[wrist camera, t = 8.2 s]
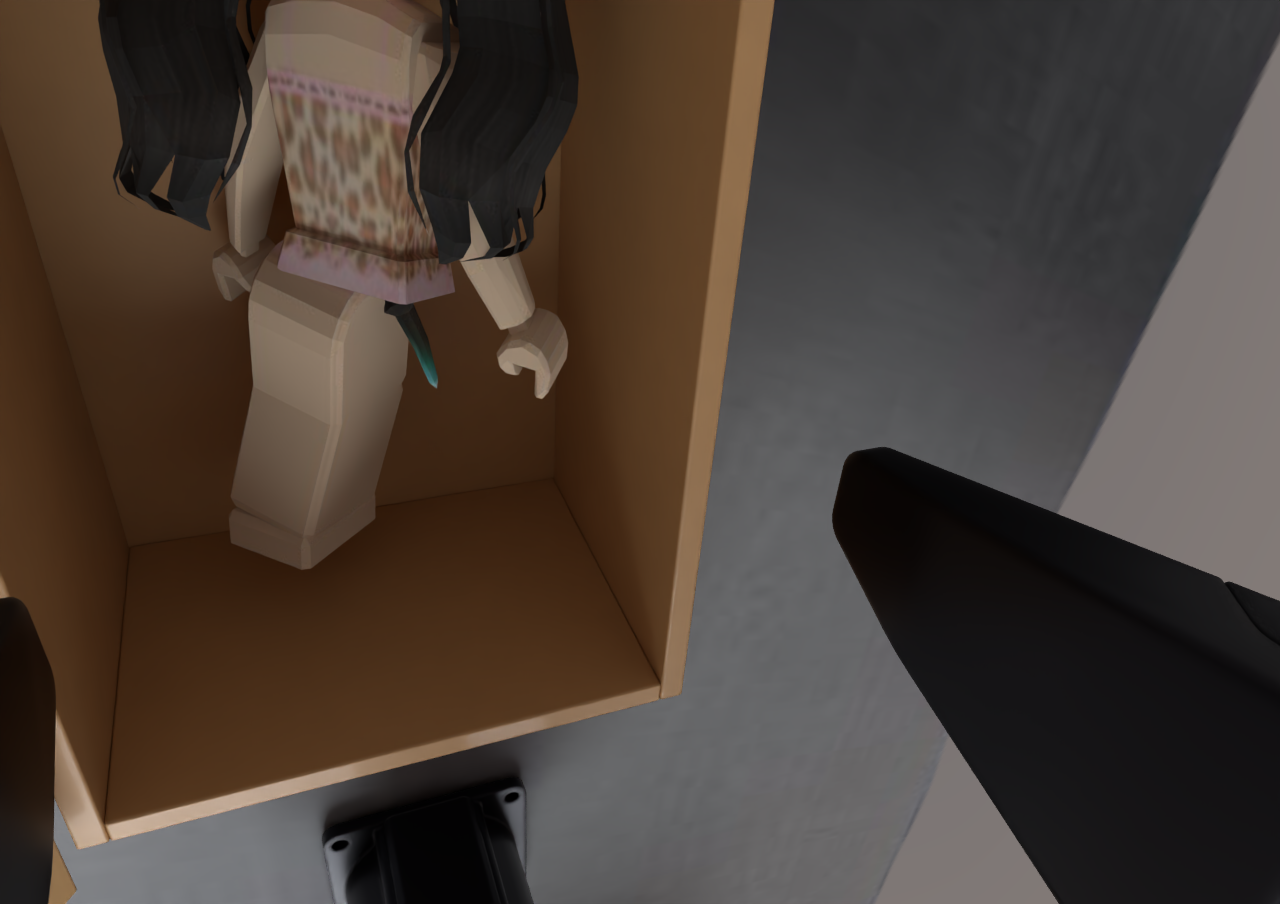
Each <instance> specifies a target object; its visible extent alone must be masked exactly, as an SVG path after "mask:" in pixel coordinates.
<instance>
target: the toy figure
mask: <svg viewBox="0 0 1280 904" xmlns="http://www.w3.org/2000/svg"><path fill="white" fill-rule="evenodd" d="M251 1H252V0H247V2H246V15H247V26H248V32H249V34H250V37H251V39H252V42H253V44H254V45H253V48H252V51H251V54H250V55H249V52H248V50H247V48H246V46H245V44H244V41H243V39H242V37H241V35H240V33H239V30H238V28H237V26H236V15H237V9H238V3H239V0H99V4H100V7H99V13H98V22H99V29H100V35H101V42H102V48H103V53H104V56H105V60H106V63H107V67H108V70H109V74H110V77H111V81H112V84H113V88H114V91H115V95H116V100H117V106H118V113H119V120H120V127H121V134H122V141H123V145H122V148H121V150H120V153H119V156H118V160H117V163H116V167H115V170H114V173H113V180H114V183H115V186H116V189H117V192H118V195H120V192H119V189H118V185H117V182H116V177H117V175H118V172H119V179H120V181H121V183H122V184H123V186H124V188H125V190H126V191H127V192H128V193H129V194H131V195H133V196H135V197H137V198H139V199H141V200H143V201H145V202H147V203H148V204H149V205H150V206H152V207H153V208H154V209H156V210H159V211H162V212H165V213H168V214H171V215H174V216H177V217H180V218H182V219H184V220H186V221H188V222H190V223H192V224H194V225H196V226H198V227H201V228H203V229H205V230H209V231H211V229H210V225H209V222H208V219H207V216H206V214H207V209H208V204H209V200H210V195H211V193H212V191H213V189H214V187H215V185H216V183H217V181H218V179H219V177H220V176H221V179H222V180H223V182H222V184H221V186H220V189H219V191H218V193H217V195H216V197H215V199H214V201H215V200H216V198H217V197H218V195H219V194H220V193H221V191H222V190H223V188H224V187H225V198H226V209H227V220H228V231H229V239H230V242H229V243H227V244H226V245H224V246H223V247H221V248H220V249H218V250H217V251H215V252H214V254H213V263H212V270H213V273H214V276H215V279H216V282H217V285H218V288H219V290H220V292H221V293H222V295H223V297H224V298H225V300H228V301H232V300H234V299H235V298H237V297H238V296H239V295H241V294H242V293H244V292H245V291H248V292H249V293H250V295H249V299H248V321H249V335H250V348H251V361H252V374H253V386H252V391H251V396H250V401H249V406H248V410H247V415H246V420H245V425H244V430H243V435H242V439H241V444H240V449H239V454H238V459H237V464H236V468H235V473H234V478H233V483H232V488H231V499H232V500H233V502H234V504H235V505H236V506H237V507H236V508H235V509H233V510H232V511H231V513H230V514H229V527H230V539H231V543H232V544H235V545H238V546H240V547H243V548H245V549H248V550H251V551H253V552H256V553H259V554H261V555H264V556H267V557H269V558H272V559H275V560H277V561H280V562H283V563H285V564H288V565H290V566H293V567H296V568H298V569H301V570H304V569H311V568H312V567H314V566H315V565H316V564H318V563H319V562H320V561H321V560H323V559H324V558H325V557H327V556H328V555H329V554H330V553H332V552H333V551H334V550H336V549H337V548H338V547H339V546H341V545H342V544H343V543H345V542H346V541H347V540H348V539H350V538H351V537H352V536H354V535H355V534H356V533H357V532H359V531H360V530H361V529H363V528H364V527H365V526H367V525H368V524H369V523H370V522H372V521H373V520H374V519H375V490H376V486H377V483H378V479H379V475H380V472H381V468H382V465H383V461H384V457H385V454H386V450H387V446H388V443H389V439H390V435H391V432H392V428H393V425H394V421H395V417H396V414H397V410H398V406H399V403H400V399H401V396H402V392H403V387H402V382H403V380H404V378H405V376H406V368H407V354H408V340H409V341H410V343H411V345H412V346H413V348H414V350H415V353H416V355H417V357H418V359H419V361H420V363H421V366H422V368H423V370H424V372H425V374H426V376H427V379H428V381H429V383H430V384H432V385H433V386H434V387H435V388H437V384H438V376H437V372H436V368H435V364H434V360H433V356H432V352H431V348H430V344H429V340H428V337H427V334H426V332H425V330H424V327H423V325H422V323H421V320H420V318H419V316H418V313H417V311H416V309H415V306H414V302H418V301H422V300H426V299H430V298H434V297H438V296H442V295H446V294H450V293H454V292H455V288H454V282H453V276H452V270H451V264H450V263H451V262H454V261H457V260H460V262H461V264H462V266H463V268H464V270H465V272H466V273H467V275H468V277H469V279H470V280H471V282H472V284H473V285H474V287H475V289H476V290H477V292H478V294H479V295H480V297H481V299H482V300H483V302H484V303H485V305H486V307H487V308H488V310H489V312H490V313H491V315H492V317H493V318H494V320H495V322H496V323H497V325H498V327H499V328H500V329H507V328H508V330H509V334H508V335H507V337H506V339H505V340H504V342H503V344H502V345H501V347H500V348H499V350H498V352H497V358H498V362H499V365H500V368H502V369H503V370H504V371H505V372H506V373H508V374H512V375H518V374H519V373H520V371H521V370H522V368H523V367H525V368H528V369H531V370H534V371H535V392H534V394H535V396H536V397H537V398H540V399H542V398H543V397H544V396H545V395H546V394H547V393H548V392H549V390H550V388H551V386H552V384H553V382H554V381H555V379H556V377H557V375H558V373H559V371H560V369H561V368H562V366H563V364H564V362H565V360H566V358H567V350H568V339H567V335H566V330H565V328H564V326H563V325H562V323H561V321H560V319H559V318H558V316H557V315H556V314H554V313H552V312H550V311H548V310H545V309H541V308H535V301H534V298H533V295H532V292H531V289H530V286H529V283H528V281H527V278H526V275H525V272H524V269H523V266H522V263H521V260H520V257H519V254H518V253H519V252H522V251H524V250H525V249H527V248H528V246H529V245H530V243H531V241H532V240H533V238H534V218H535V217H536V216H537V215H538V213H539V212H540V211H541V210H542V209H543V206H544V202H545V198H546V181H545V172H546V169H547V167H548V165H549V163H550V162H551V160H552V158H553V156H554V154H555V153H556V151H557V149H558V147H559V146H560V144H561V142H562V140H563V138H564V137H565V135H566V133H567V131H568V129H569V126H570V123H571V121H572V118H573V115H574V113H575V110H576V107H577V104H578V83H579V75H578V70H577V64H576V59H575V53H574V48H573V43H572V37H571V32H570V26H569V21H568V15H567V10H566V5H565V0H457V3H456V0H440V5H441V8H442V18H441V17H439V16H438V15H436V14H435V13H433V12H431V11H430V10H428V9H427V8H425V7H424V6H422V5H420V4H419V3H417V2H415V1H413V0H271V1H270V3H269V5H268V6H267V9H266V11H265V20H264V22H263V23H262V25H261V27H260V28H259V31H258V34H257V37H256V39H255V37H254V34H253V31H252V25H251V14H250V5H251ZM450 16H451V19H452V22H453V25H452V24H450ZM174 155H175V158H174V163H173V162H172V163H173V168H172V173H171V178H170V183H169V188H168V193H167V199H168V201H167V200H165V199H163V198H161V197H160V196H158V195H156V194H154V193H153V192H151V191H152V189H153V188H154V186H155V185H156V183H157V182H158V180H159V179H160V177H161V175H162V174H163V172H164V171H165V169H166V168H167V166H168V165H169V163H170V162H171V161H172V158H173V157H174ZM283 163H284V168H285V174H286V179H287V184H288V189H289V194H290V199H291V204H292V210H293V215H294V220H295V225H296V226H295V227H293V228H290V229H287V230H286V232H285V235H284V239H283V240H282V241H281V242H279V243H278V244H277V245H275V244H274V243H273V241H272V240H271V239H270V238H269V236H268V235H267V234H266V233H267V229H268V225H269V220H270V216H271V212H272V208H273V203H274V199H275V195H276V191H277V186H278V182H279V178H280V174H281V170H282V165H283ZM132 164H133V172H132V170H131V169H132ZM119 170H120V171H119ZM133 174H134V175H133ZM541 184H542V199H541V204H540V209H539V210H538V212H537V213H536V215H535V216H534V212H533V208H534V205H535V202H536V199H537V196H538V193H539V190H540V187H541ZM120 196H121V195H120ZM121 197H123V196H121ZM123 198H124V197H123ZM124 199H125V198H124ZM126 200H127V199H126ZM127 201H128V200H127ZM129 202H130V201H129ZM130 203H131V202H130ZM133 205H134V204H133ZM136 207H137V206H136ZM171 210H173V211H171ZM174 211H175V212H174ZM520 218H521V219H522V222H523V226H524V230H525V233H526V237H527V238H526V240H524V241H522V242H520V241H521V234H520V227H519V221H518V219H520ZM513 229H514V230H515V235H516V239H517V241H516V245H515V242H514V240H513V237H512V234H513Z"/></svg>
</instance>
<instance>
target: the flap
mask: <svg viewBox="0 0 1280 904" xmlns="http://www.w3.org/2000/svg"><path fill="white" fill-rule="evenodd" d="M75 892H76V887H75V884H74V882H73V880H72V878H71V876H70V874H69V871H68V869H67V867H66V865H65V863H64V861H63V859H62V856H61V854H60V852H59V850H58V848H57V846H56V843H55V841H54V839H53V864H52V877H51V885H50V894H49V902H48V904H65V903H66V902H67V901H68V900H69V899H70V898H71V897H72V895H73V894H74V893H75Z"/></svg>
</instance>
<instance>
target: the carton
mask: <svg viewBox="0 0 1280 904" xmlns="http://www.w3.org/2000/svg"><path fill="white" fill-rule="evenodd" d="M270 1H271V0H252V1H251V5H250V14H251V25H252V31H253V34H254V37H255V39H256V37H257V34H258V31H259V28H260V27H261V25H262V23H263V22H264V20H265V11H266V9H267V6H268V5H269V3H270ZM413 1H415V2H417V3H419V4H420V5H422V6H424V7H425V8H427V9H428V10H430V11H431V12H433V13H435V14H436V15H438V16H439V17H441V18H442V8H441V5H440V0H413ZM774 1H775V0H565V5H566V10H567V15H568V21H569V26H570V32H571V37H572V43H573V48H574V53H575V59H576V64H577V70H578V75H579V83H578V104H577V107H576V110H575V113H574V115H573V118H572V121H571V123H570V126H569V129H568V131H567V133H566V135H565V137H564V138H563V140H562V142H561V144H560V146H559V147H558V149H557V151H556V153H555V154H554V156H553V158H552V160H551V162H550V163H549V165H548V167H547V169H546V172H545V181H546V198H545V202H544V206H543V209H542V210H541V211H540V212H539V213H538V215H537V216H536V217H535V218H534V238H533V240H532V241H531V243H530V245H529V246H528V248H527V249H525V250H524V251H522V252H519V253H518V254H519V257H520V260H521V263H522V266H523V269H524V272H525V275H526V278H527V281H528V283H529V286H530V289H531V292H532V295H533V298H534V301H535V308H541V309H545V310H548V311H550V312H552V313H554V314H556V315H557V316H558V318H559V319H560V321H561V323H562V325H563V326H564V328H565V330H566V335H567V339H568V350H567V358H566V360H565V362H564V364H563V366H562V368H561V369H560V371H559V373H558V375H557V377H556V379H555V381H554V382H553V384H552V386H551V388H550V390H549V392H548V393H547V394H546V395H545V396H544V397H543V398H542V399H540V398H537V397H536V396H535V394H534V392H535V371H534V370H531V369H528V368H525V367H523V368H522V370H521V371H520V373H519V374H518V375H512V374H508V373H506V372H505V371H504V370H503V369H502V368H500V365H499V362H498V358H497V352H498V350H499V348H500V347H501V345H502V344H503V342H504V340H505V339H506V337H507V335H508V334H509V330H508V328H507V329H500V328H499V327H498V325H497V323H496V322H495V320H494V318H493V317H492V315H491V313H490V312H489V310H488V308H487V307H486V305H485V303H484V302H483V300H482V299H481V297H480V295H479V294H478V292H477V290H476V289H475V287H474V285H473V284H472V282H471V280H470V279H469V277H468V275H467V273H466V272H465V270H464V268H463V266H462V264H461V262H460V260H457V261H454V262H451V263H450V264H451V270H452V276H453V282H454V288H455V292H454V293H450V294H446V295H442V296H438V297H434V298H430V299H426V300H422V301H418V302H414V306H415V309H416V311H417V313H418V316H419V318H420V320H421V323H422V325H423V327H424V330H425V332H426V334H427V337H428V340H429V344H430V348H431V352H432V356H433V360H434V364H435V368H436V372H437V376H438V384H437V388H435V387H434V386H433V385H432V384H430V383H429V381H428V379H427V376H426V374H425V372H424V370H423V368H422V366H421V363H420V361H419V359H418V357H417V355H416V353H415V350H414V348H413V346H412V345H411V343H410V341H409V340H408V354H407V368H406V376H405V378H404V380H403V382H402V387H403V392H402V396H401V399H400V403H399V406H398V410H397V414H396V417H395V421H394V425H393V428H392V432H391V435H390V439H389V443H388V446H387V450H386V454H385V457H384V461H383V465H382V468H381V472H380V475H379V479H378V483H377V486H376V490H375V519H374V520H373V521H372V522H370V523H369V524H368V525H367V526H365V527H364V528H363V529H361V530H360V531H359V532H357V533H356V534H355V535H354V536H352V537H351V538H350V539H348V540H347V541H346V542H345V543H343V544H342V545H341V546H339V547H338V548H337V549H336V550H334V551H333V552H332V553H330V554H329V555H328V556H327V557H325V558H324V559H323V560H321V561H320V562H319V563H318V564H316V565H315V566H314V567H312V568H311V569H304V570H301V569H298V568H296V567H293V566H290V565H288V564H285V563H283V562H280V561H277V560H275V559H272V558H269V557H267V556H264V555H261V554H259V553H256V552H253V551H251V550H248V549H245V548H243V547H240V546H238V545H235V544H232V543H231V539H230V527H229V514H230V513H231V511H232V510H233V509H235V508H236V507H237V506H236V505H235V504H234V502H233V500H232V499H231V488H232V483H233V478H234V473H235V468H236V464H237V459H238V454H239V449H240V444H241V439H242V435H243V430H244V425H245V420H246V415H247V410H248V406H249V401H250V396H251V391H252V386H253V374H252V361H251V348H250V335H249V321H248V299H249V295H250V293H249V292H248V291H245V292H244V293H242V294H241V295H239V296H238V297H237V298H235V299H234V300H232V301H228V300H225V298H224V297H223V295H222V293H221V292H220V290H219V288H218V285H217V282H216V279H215V276H214V273H213V270H212V263H213V254H214V252H215V251H217V250H218V249H220V248H221V247H223V246H224V245H226V244H227V243H229V242H230V239H229V231H228V220H227V209H226V198H225V187H224V188H223V190H222V191H221V193H220V194H219V195H218V197H217V198H216V200H215V201H214V199H215V197H216V195H217V193H218V191H219V189H220V186H221V184H222V182H223V180H222V179H221V176H220V177H219V179H218V181H217V183H216V185H215V187H214V189H213V191H212V193H211V195H210V200H209V204H208V209H207V214H206V216H207V219H208V222H209V225H210V229H211V231H209V230H205V229H203V228H201V227H198V226H196V225H194V224H192V223H190V222H188V221H186V220H184V219H182V218H180V217H177V216H174V215H171V214H168V213H165V212H162V211H159V210H156V209H154V208H153V207H152V206H150V205H149V204H148V203H147V202H145V201H143V200H141V199H139V198H137V197H135V196H133V195H131V194H129V193H128V192H127V191H126V190H125V188H124V186H123V184H122V183H121V181H120V179H119V172H118V175H117V177H116V182H117V185H118V189H119V192H120V195H121V196H123V197H124V198H125V199H124V198H123V197H121V196H120V195H118V192H117V189H116V186H115V183H114V180H113V173H114V170H115V167H116V163H117V160H118V156H119V153H120V150H121V148H122V145H123V141H122V134H121V127H120V120H119V113H118V106H117V100H116V95H115V91H114V88H113V84H112V81H111V77H110V74H109V70H108V67H107V63H106V60H105V56H104V53H103V48H102V42H101V35H100V29H99V22H98V13H99V7H100V4H99V0H0V598H5V597H15V598H18V599H20V600H21V601H22V602H23V603H24V604H25V605H26V607H27V609H28V611H29V613H30V615H31V618H32V620H33V623H34V625H35V628H36V630H37V633H38V635H39V638H40V641H41V643H42V646H43V648H44V651H45V653H46V656H47V658H48V661H49V663H50V666H51V669H52V672H53V676H54V681H55V689H56V731H55V783H54V798H55V800H56V803H57V805H58V807H59V809H60V812H61V814H62V816H63V818H64V821H65V823H66V825H67V827H68V830H69V832H70V834H71V836H72V839H73V841H74V843H75V845H76V847H77V849H83V848H87V847H91V846H95V845H99V844H103V843H106V842H108V841H109V839H111V840H118V839H121V838H125V837H129V836H133V835H137V834H141V833H145V832H149V831H152V830H156V829H160V828H164V827H168V826H172V825H176V824H180V823H184V822H187V821H191V820H195V819H199V818H203V817H207V816H211V815H215V814H218V813H222V812H226V811H230V810H234V809H238V808H242V807H246V806H250V805H253V804H257V803H261V802H265V801H269V800H273V799H277V798H281V797H284V796H288V795H292V794H296V793H300V792H304V791H308V790H312V789H316V788H319V787H323V786H327V785H331V784H335V783H339V782H343V781H347V780H350V779H354V778H358V777H362V776H366V775H370V774H374V773H378V772H382V771H385V770H389V769H393V768H397V767H401V766H405V765H409V764H413V763H417V762H420V761H424V760H428V759H432V758H436V757H440V756H444V755H448V754H451V753H455V752H459V751H463V750H467V749H471V748H475V747H479V746H483V745H486V744H490V743H494V742H498V741H502V740H506V739H510V738H514V737H517V736H521V735H525V734H529V733H533V732H537V731H541V730H545V729H549V728H552V727H556V726H560V725H564V724H568V723H572V722H576V721H580V720H583V719H587V718H591V717H595V716H599V715H603V714H607V713H611V712H615V711H618V710H622V709H626V708H630V707H634V706H638V705H642V704H646V703H649V702H653V701H657V700H658V699H659V698H660V699H665V698H669V697H673V696H677V695H680V694H681V692H682V685H683V677H684V670H685V662H686V655H687V647H688V640H689V633H690V625H691V618H692V610H693V603H694V595H695V588H696V581H697V573H698V566H699V558H700V551H701V543H702V536H703V529H704V521H705V514H706V506H707V499H708V492H709V484H710V477H711V469H712V462H713V454H714V447H715V440H716V432H717V425H718V417H719V410H720V402H721V395H722V388H723V380H724V373H725V365H726V358H727V350H728V343H729V336H730V328H731V321H732V313H733V306H734V298H735V291H736V284H737V276H738V269H739V261H740V254H741V246H742V239H743V232H744V224H745V217H746V209H747V202H748V194H749V187H750V180H751V172H752V165H753V157H754V150H755V142H756V135H757V128H758V120H759V113H760V105H761V98H762V90H763V83H764V76H765V68H766V61H767V53H768V46H769V38H770V31H771V24H772V16H773V9H774ZM246 2H247V0H239V3H238V9H237V15H236V26H237V28H238V30H239V33H240V35H241V37H242V39H243V41H244V44H245V46H246V48H247V50H248V52H249V55H250V54H251V51H252V48H253V45H254V44H253V42H252V39H251V37H250V34H249V32H248V26H247V15H246ZM456 3H457V0H456ZM450 24H452V25H453V22H452V19H451V16H450ZM174 158H175V155H174V157H173V158H172V161H171V162H170V163H169V165H168V166H167V168H166V169H165V171H164V172H163V174H162V175H161V177H160V179H159V180H158V182H157V183H156V185H155V186H154V188H153V189H152V191H151V192H153V193H154V194H156V195H158V196H160V197H161V198H163V199H165V200H167V201H168V199H167V193H168V188H169V183H170V178H171V173H172V168H173V163H174ZM172 162H173V163H172ZM131 170H132V172H133V164H132V169H131ZM119 171H120V170H119ZM133 175H134V174H133ZM126 199H127V200H128V201H127V200H126ZM541 199H542V184H541V187H540V190H539V193H538V196H537V199H536V202H535V205H534V208H533V212H534V216H535V215H536V213H537V212H538V210H539V209H540V204H541ZM129 201H130V202H131V203H130V202H129ZM133 204H134V205H133ZM136 206H137V207H136ZM171 211H173V210H171ZM174 212H175V211H174ZM518 221H519V227H520V234H521V241H520V242H522V241H524V240H526V238H527V237H526V233H525V230H524V226H523V222H522V219H521V218H520V219H518ZM295 226H296V225H295V220H294V215H293V210H292V204H291V199H290V194H289V189H288V184H287V179H286V174H285V168H284V163H283V165H282V170H281V174H280V178H279V182H278V186H277V191H276V195H275V199H274V203H273V208H272V212H271V216H270V220H269V225H268V229H267V233H266V234H267V235H268V236H269V238H270V239H271V240H272V241H273V243H274V244H275V245H277V244H278V243H279V242H281V241H282V240H283V239H284V235H285V232H286V230H287V229H290V228H293V227H295ZM512 237H513V240H514V242H515V245H516V241H517V239H516V235H515V230H514V229H513V234H512Z"/></svg>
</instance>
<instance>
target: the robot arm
mask: <svg viewBox="0 0 1280 904" xmlns="http://www.w3.org/2000/svg"><path fill="white" fill-rule="evenodd" d="M832 523H833V529H834V532H835V535H836V538H837V540H838V542H839V544H840V546H841V548H842V550H843V552H844V554H845V556H846V558H847V559H848V561H849V563H850V565H851V567H852V569H853V571H854V573H855V575H856V577H857V579H858V581H859V583H860V585H861V587H862V589H863V591H864V593H865V595H866V597H867V599H868V601H869V602H870V604H871V606H872V608H873V610H874V612H875V614H876V616H877V618H878V620H879V622H880V624H881V626H882V628H883V630H884V632H885V634H886V635H887V637H888V639H889V641H890V643H891V645H892V646H893V648H894V650H895V652H896V653H897V655H898V657H899V658H900V660H901V661H902V663H903V665H904V666H905V668H906V670H907V671H908V673H909V674H910V676H911V677H912V679H913V680H914V682H915V683H916V685H917V687H918V688H919V690H920V691H921V693H922V694H923V696H924V697H925V699H926V700H927V702H928V703H929V705H930V707H931V708H932V710H933V711H934V713H935V714H936V716H937V717H938V719H939V720H940V722H941V723H942V725H943V726H944V728H945V730H946V731H947V733H948V734H949V736H950V737H951V739H952V740H953V742H954V743H955V745H956V746H957V748H958V750H959V751H960V753H961V754H962V756H963V757H964V759H965V760H966V762H967V763H968V765H969V766H970V768H971V769H972V771H973V773H974V774H975V775H976V777H977V778H978V780H979V782H980V783H981V785H982V786H983V788H984V789H985V791H986V792H987V794H988V796H989V797H990V799H991V800H992V802H993V803H994V805H995V806H996V808H997V809H998V811H999V812H1000V814H1001V816H1002V817H1003V819H1004V820H1005V822H1006V823H1007V825H1008V826H1009V828H1010V829H1011V831H1012V832H1013V834H1014V835H1015V837H1016V839H1017V840H1018V842H1019V843H1020V844H1021V846H1022V848H1023V849H1024V851H1025V852H1026V854H1027V855H1028V857H1029V859H1030V860H1031V861H1032V863H1033V865H1034V866H1035V868H1036V869H1037V871H1038V872H1039V874H1040V875H1041V877H1042V878H1043V880H1044V881H1045V883H1046V885H1047V886H1048V888H1049V889H1050V891H1051V892H1052V894H1053V895H1054V897H1055V898H1056V900H1057V902H1058V903H1059V904H1280V601H1278V600H1275V599H1273V598H1270V597H1268V596H1265V595H1263V594H1260V593H1258V592H1255V591H1252V590H1250V589H1247V588H1245V587H1242V586H1240V585H1237V584H1234V583H1232V582H1225V583H1224V582H1223V581H1222V579H1220V578H1219V577H1217V576H1214V575H1212V574H1209V573H1206V572H1204V571H1201V570H1199V569H1196V568H1194V567H1191V566H1188V565H1186V564H1183V563H1181V562H1178V561H1176V560H1173V559H1170V558H1168V557H1166V556H1163V555H1161V554H1158V553H1155V552H1153V551H1150V550H1148V549H1145V548H1142V547H1140V546H1137V545H1135V544H1132V543H1130V542H1127V541H1125V540H1122V539H1120V538H1117V537H1115V536H1112V535H1110V534H1107V533H1105V532H1102V531H1099V530H1097V529H1094V528H1092V527H1089V526H1087V525H1084V524H1082V523H1079V522H1077V521H1074V520H1071V519H1069V518H1066V517H1064V516H1061V515H1059V514H1056V513H1054V512H1051V511H1049V510H1046V509H1043V508H1041V507H1038V506H1036V505H1033V504H1031V503H1028V502H1026V501H1023V500H1021V499H1018V498H1015V497H1013V496H1010V495H1008V494H1005V493H1003V492H1000V491H998V490H995V489H993V488H990V487H987V486H985V485H982V484H980V483H977V482H975V481H972V480H970V479H967V478H965V477H962V476H959V475H957V474H954V473H952V472H949V471H947V470H944V469H942V468H939V467H937V466H934V465H931V464H929V463H926V462H924V461H921V460H919V459H916V458H914V457H911V456H909V455H906V454H903V453H901V452H898V451H896V450H893V449H891V448H887V447H878V448H872V449H866V450H860V451H855V452H853V453H851V454H850V455H849V456H848V457H847V459H846V460H845V462H844V465H843V470H842V474H841V478H840V482H839V487H838V491H837V495H836V500H835V504H834V508H833V514H832ZM55 731H56V689H55V681H54V676H53V672H52V669H51V666H50V663H49V661H48V658H47V656H46V653H45V651H44V648H43V646H42V643H41V641H40V638H39V635H38V633H37V630H36V628H35V625H34V623H33V620H32V618H31V615H30V613H29V611H28V609H27V607H26V605H25V604H24V603H23V602H22V601H21V600H20V599H18V598H15V597H5V598H0V904H48V902H49V894H50V885H51V877H52V864H53V836H54V783H55ZM322 842H323V850H324V855H325V860H326V865H327V870H328V875H329V880H330V885H331V890H332V895H333V900H334V904H534V903H533V899H532V896H531V893H530V890H529V886H528V883H527V880H526V791H525V788H524V785H523V782H522V780H521V779H519V778H515V777H513V778H507V779H504V780H500V781H496V782H492V783H489V784H485V785H481V786H478V787H474V788H470V789H467V790H463V791H459V792H456V793H452V794H448V795H445V796H441V797H437V798H434V799H430V800H426V801H423V802H419V803H415V804H412V805H408V806H404V807H401V808H397V809H393V810H390V811H386V812H382V813H379V814H375V815H371V816H368V817H364V818H360V819H357V820H353V821H349V822H346V823H342V824H338V825H335V826H333V827H330V828H329V829H328V830H326V831H325V833H324V834H323V836H322Z"/></svg>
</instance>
